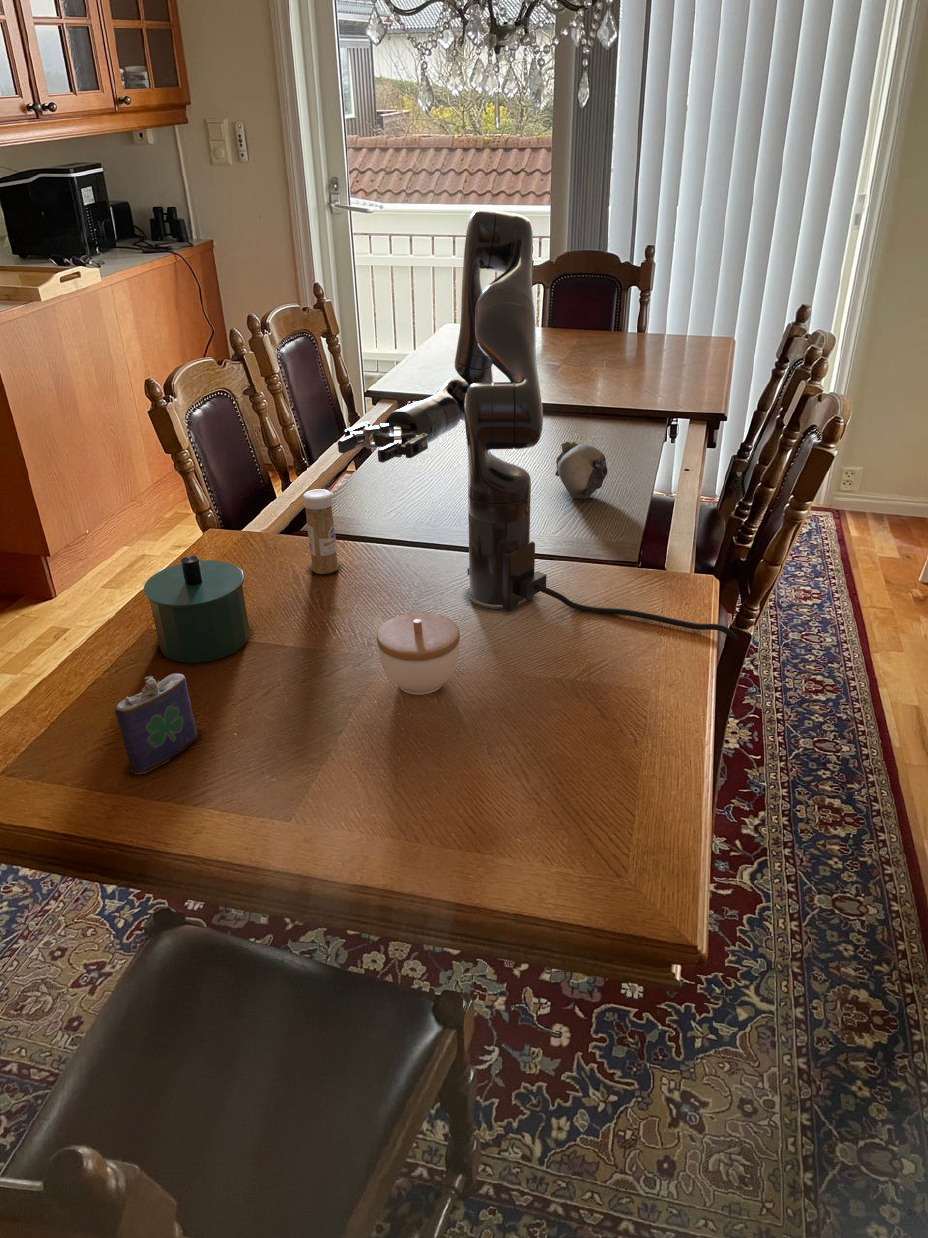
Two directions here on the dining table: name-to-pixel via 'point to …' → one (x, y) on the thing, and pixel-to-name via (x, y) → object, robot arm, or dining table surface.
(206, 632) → the pot
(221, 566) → the pot lid
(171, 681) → the flask
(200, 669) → the dining table surface
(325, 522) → the sprinkles bottle
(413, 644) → the trinket box
